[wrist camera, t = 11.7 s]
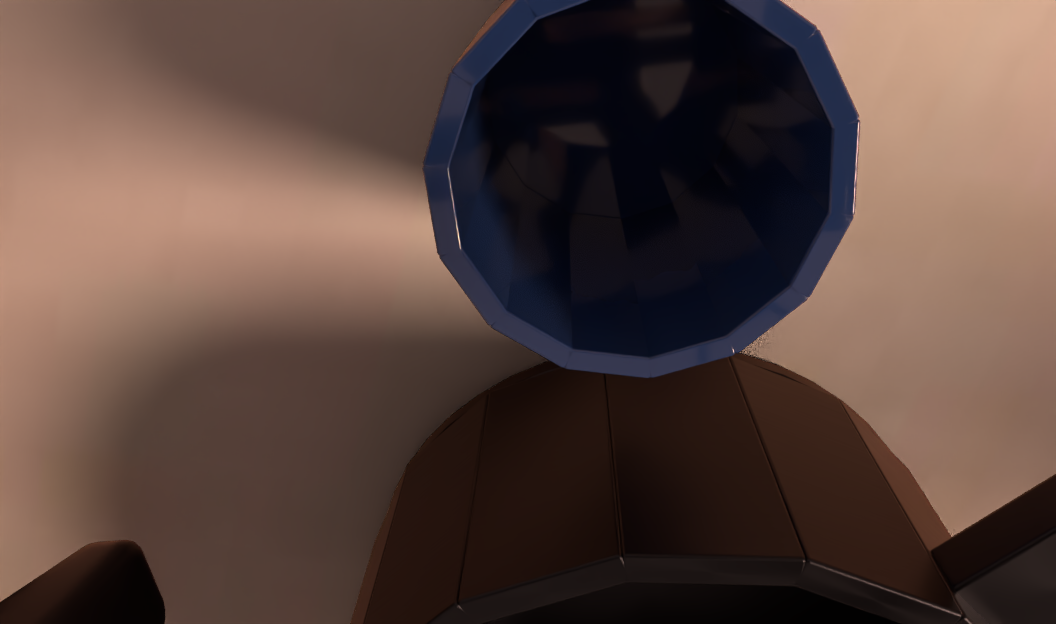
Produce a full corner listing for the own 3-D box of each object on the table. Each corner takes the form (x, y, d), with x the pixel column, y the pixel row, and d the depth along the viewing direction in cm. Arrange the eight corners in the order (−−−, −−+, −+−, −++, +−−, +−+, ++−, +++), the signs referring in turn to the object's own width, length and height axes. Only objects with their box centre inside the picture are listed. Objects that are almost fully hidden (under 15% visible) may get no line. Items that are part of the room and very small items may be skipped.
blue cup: (809, 92, 16) (951, 189, 10) (602, 274, 18) (622, 444, 12) (621, -129, 15) (663, -162, 9) (416, 95, 16) (336, 192, 11)
